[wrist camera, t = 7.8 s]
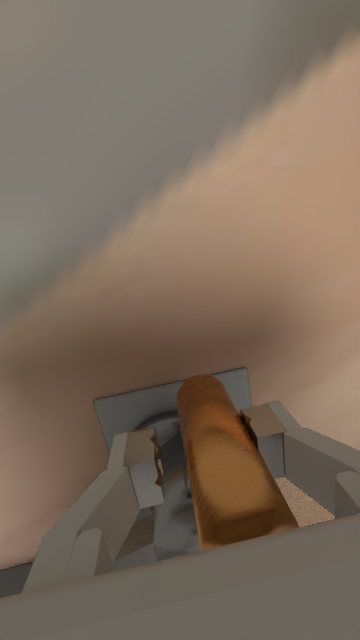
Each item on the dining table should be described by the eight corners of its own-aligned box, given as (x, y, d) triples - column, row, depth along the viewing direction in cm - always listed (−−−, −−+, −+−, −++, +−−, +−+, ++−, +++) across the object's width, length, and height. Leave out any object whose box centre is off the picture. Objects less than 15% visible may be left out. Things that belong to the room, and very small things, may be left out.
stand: (268, 576, 22) (306, 682, 17) (-1, 649, 21) (-55, 789, 15) (246, 367, 16) (294, 427, 11) (-139, 450, 15) (-311, 568, 9)
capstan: (294, 345, 15) (505, 484, 6) (269, 491, 19) (382, 725, 9) (75, 346, 14) (-74, 532, 5) (88, 505, 17) (15, 802, 8)
